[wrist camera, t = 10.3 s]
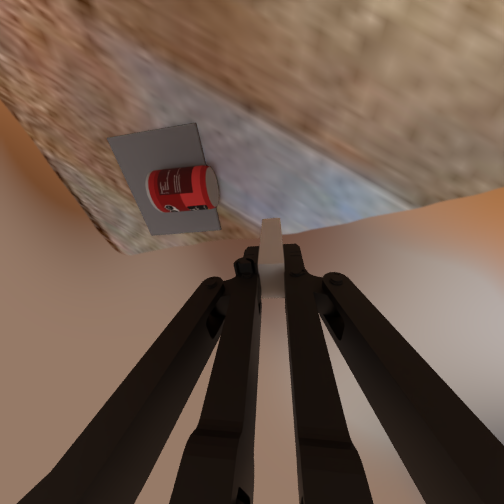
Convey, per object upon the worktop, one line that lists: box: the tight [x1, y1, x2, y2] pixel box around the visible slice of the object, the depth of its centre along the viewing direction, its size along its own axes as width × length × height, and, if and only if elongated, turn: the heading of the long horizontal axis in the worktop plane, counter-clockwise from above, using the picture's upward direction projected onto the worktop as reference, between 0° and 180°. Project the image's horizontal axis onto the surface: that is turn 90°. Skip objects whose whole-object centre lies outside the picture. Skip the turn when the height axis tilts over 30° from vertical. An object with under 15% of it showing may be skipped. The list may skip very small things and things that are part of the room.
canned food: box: [145, 165, 219, 213], centre depth 35 cm, size 8×8×11 cm
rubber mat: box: [107, 123, 221, 236], centre depth 39 cm, size 21×18×1 cm
